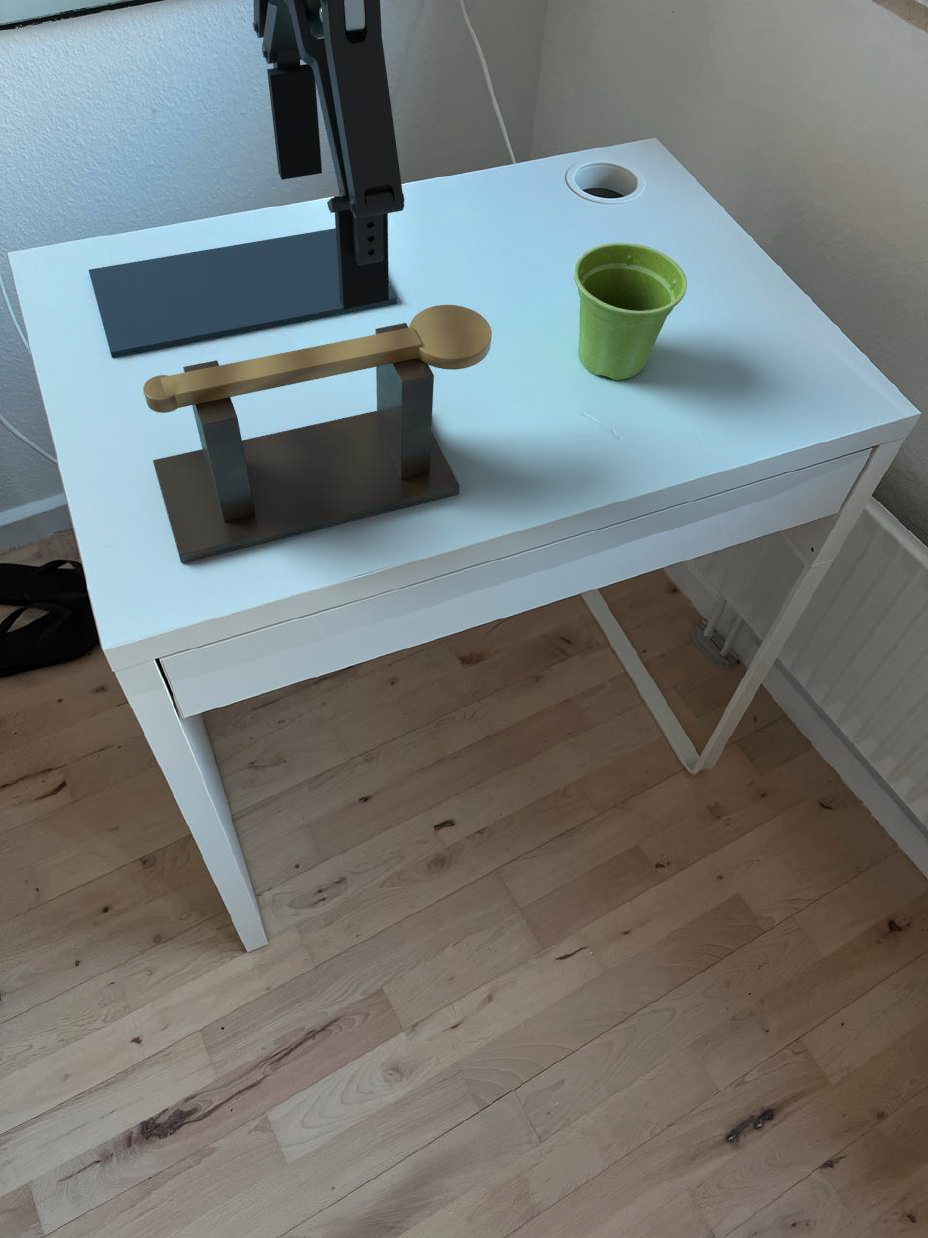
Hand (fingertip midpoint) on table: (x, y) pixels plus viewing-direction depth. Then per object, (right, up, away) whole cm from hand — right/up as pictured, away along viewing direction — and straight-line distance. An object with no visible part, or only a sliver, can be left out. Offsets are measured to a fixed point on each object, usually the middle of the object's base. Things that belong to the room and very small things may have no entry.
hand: (330, 234), depth 58 cm
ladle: (-2, -6, +8) cm, 10 cm away
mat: (-12, +7, +30) cm, 33 cm away
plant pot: (+21, 0, +27) cm, 35 cm away
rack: (-4, -13, +17) cm, 21 cm away
